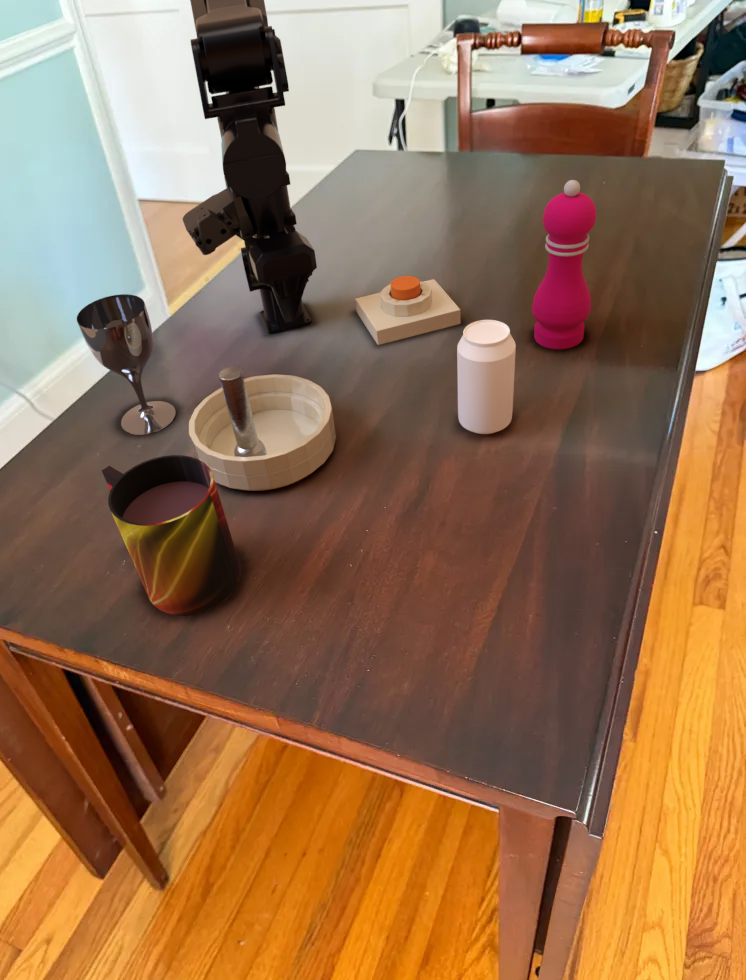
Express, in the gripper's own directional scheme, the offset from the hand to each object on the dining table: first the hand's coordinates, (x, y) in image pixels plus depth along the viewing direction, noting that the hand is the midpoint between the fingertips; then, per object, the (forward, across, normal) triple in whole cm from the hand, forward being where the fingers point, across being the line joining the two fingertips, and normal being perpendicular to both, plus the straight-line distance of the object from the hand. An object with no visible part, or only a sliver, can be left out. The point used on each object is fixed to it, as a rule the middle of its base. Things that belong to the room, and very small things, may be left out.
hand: (280, 303), depth 91 cm
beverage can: (+13, +15, +19) cm, 28 cm away
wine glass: (+13, -4, -19) cm, 23 cm away
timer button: (+9, -12, +19) cm, 24 cm away
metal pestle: (+12, +13, -8) cm, 19 cm away
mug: (+13, +25, -19) cm, 35 cm away
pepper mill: (+13, +2, +35) cm, 37 cm away
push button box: (+13, -12, +19) cm, 26 cm away
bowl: (+13, +9, -6) cm, 17 cm away
